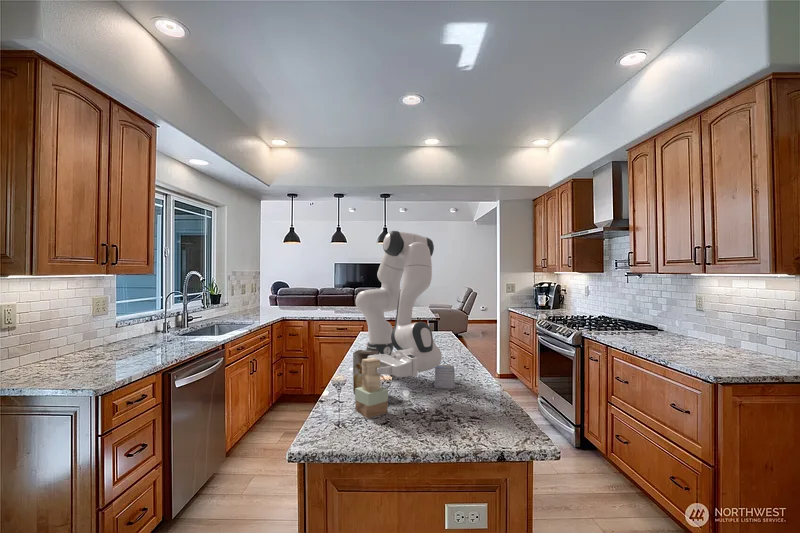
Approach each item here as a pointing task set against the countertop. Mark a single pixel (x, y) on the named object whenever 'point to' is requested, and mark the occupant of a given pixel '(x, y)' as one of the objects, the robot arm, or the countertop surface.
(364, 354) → the coffee box
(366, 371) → the pillar
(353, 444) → the countertop surface
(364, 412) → the block bottom
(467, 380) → the countertop surface
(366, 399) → the block top
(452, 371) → the medicine box
